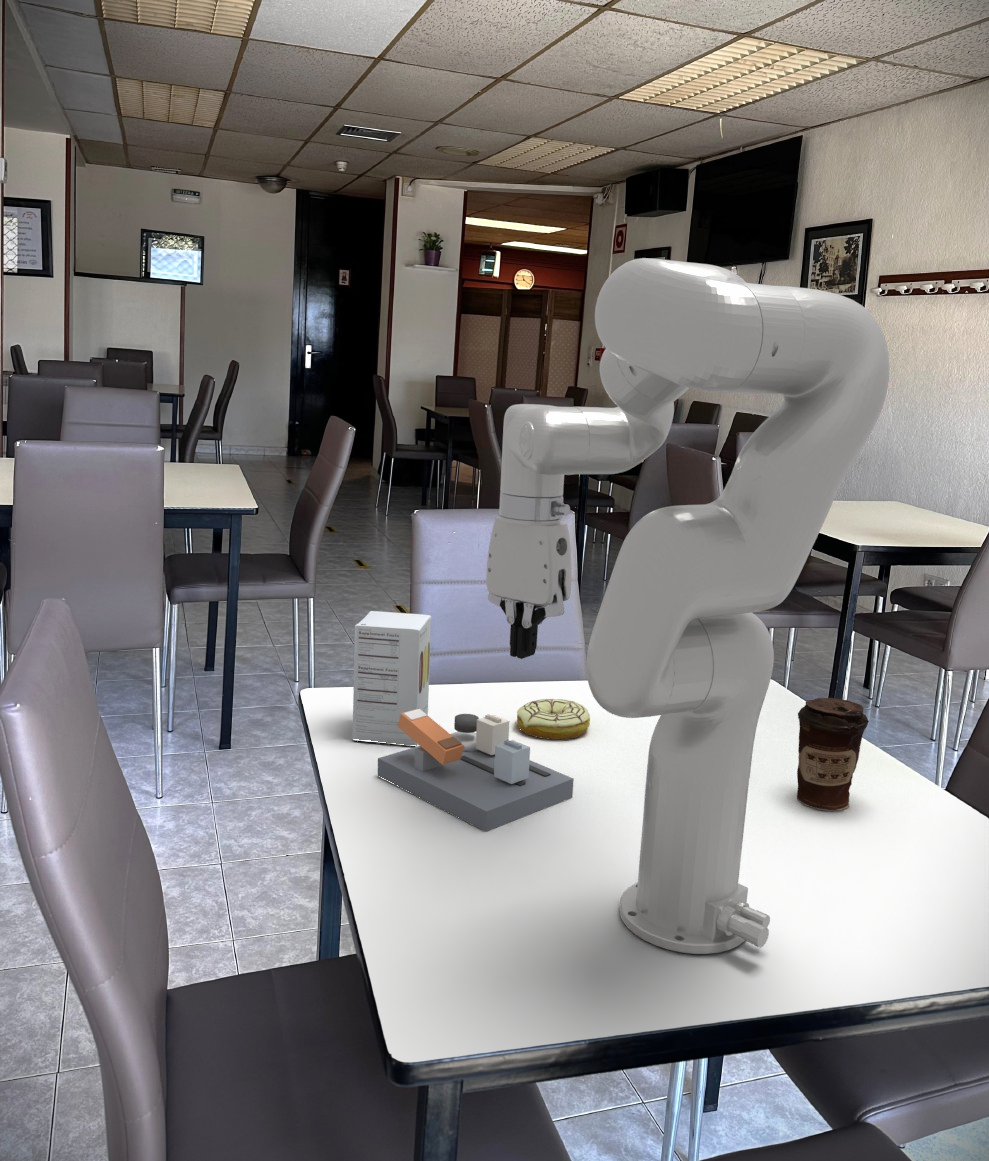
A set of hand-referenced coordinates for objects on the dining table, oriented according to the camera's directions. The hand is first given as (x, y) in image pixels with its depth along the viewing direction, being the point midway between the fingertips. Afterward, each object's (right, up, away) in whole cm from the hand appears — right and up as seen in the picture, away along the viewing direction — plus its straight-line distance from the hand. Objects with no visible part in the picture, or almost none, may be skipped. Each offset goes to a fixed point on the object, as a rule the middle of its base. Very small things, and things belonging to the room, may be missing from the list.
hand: (522, 655), depth 126 cm
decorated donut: (+5, -13, +24) cm, 28 cm away
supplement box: (-18, -13, +19) cm, 30 cm away
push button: (-7, -10, +9) cm, 15 cm away
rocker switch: (-11, -10, +1) cm, 15 cm away
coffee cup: (+38, -19, +3) cm, 43 cm away
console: (-6, -17, +2) cm, 18 cm away
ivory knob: (-4, -13, +7) cm, 15 cm away
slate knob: (-1, -15, -1) cm, 15 cm away
